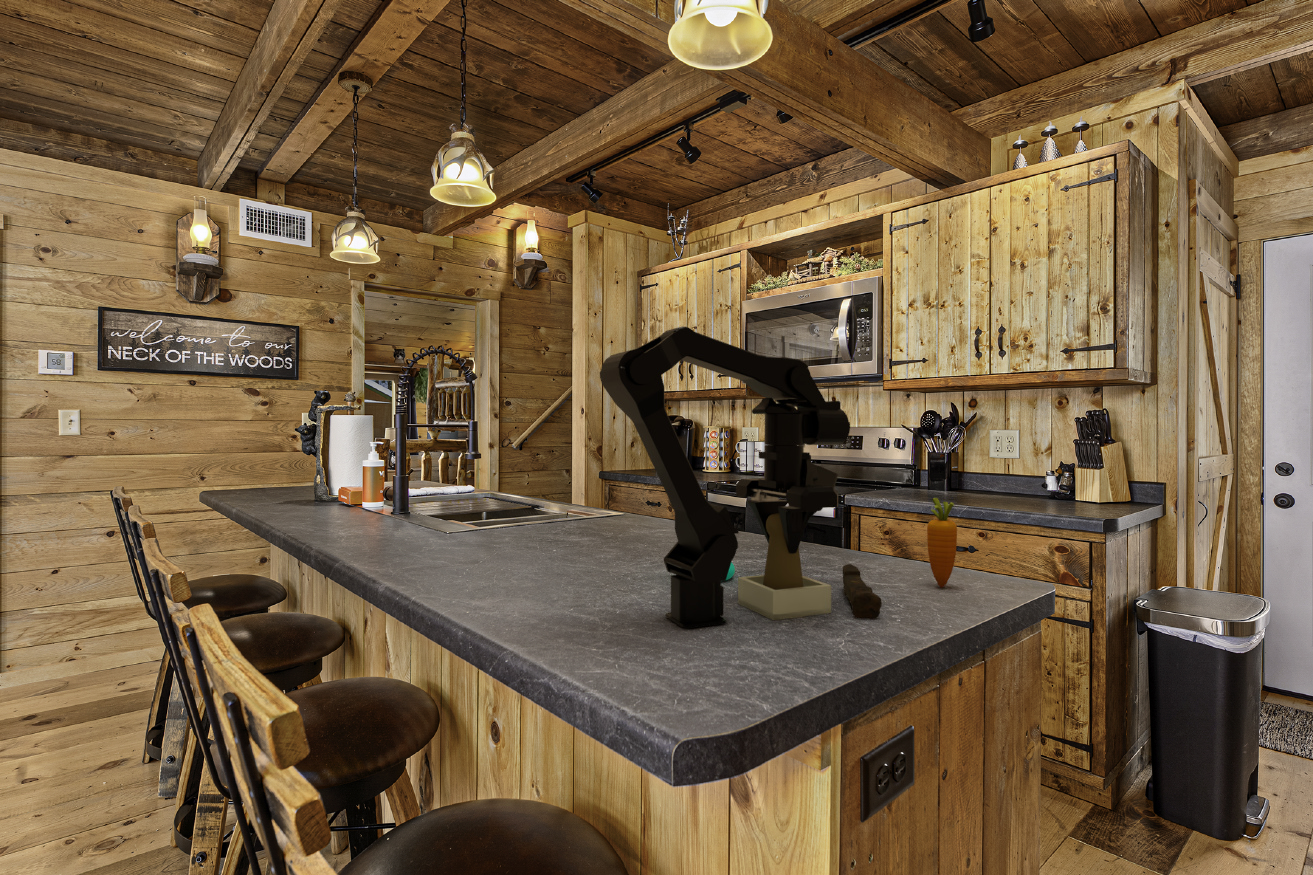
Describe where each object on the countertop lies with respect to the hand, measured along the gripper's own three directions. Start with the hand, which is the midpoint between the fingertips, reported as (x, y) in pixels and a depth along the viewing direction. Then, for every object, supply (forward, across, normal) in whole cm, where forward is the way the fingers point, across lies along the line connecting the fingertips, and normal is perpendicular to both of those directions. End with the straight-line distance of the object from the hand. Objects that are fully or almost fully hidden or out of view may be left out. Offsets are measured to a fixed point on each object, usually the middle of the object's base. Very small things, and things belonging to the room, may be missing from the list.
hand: (782, 550), depth 101 cm
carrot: (+9, +1, -32) cm, 33 cm away
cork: (+6, 0, 0) cm, 6 cm away
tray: (+9, 0, 0) cm, 9 cm away
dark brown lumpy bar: (+9, -1, -12) cm, 15 cm away
